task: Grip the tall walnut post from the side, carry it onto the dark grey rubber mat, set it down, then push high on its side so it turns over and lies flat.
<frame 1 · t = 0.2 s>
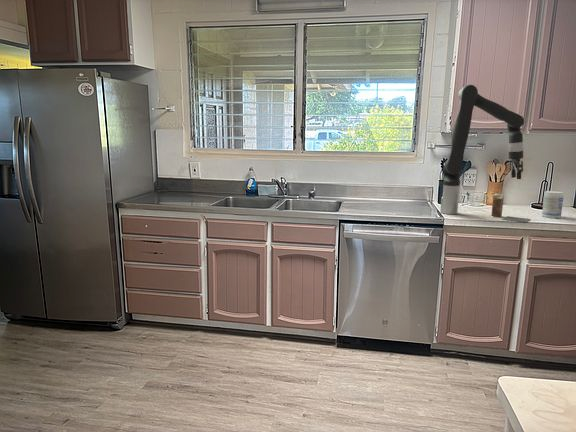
hand: (516, 178, 244), 22 cm above the countertop, tool pointing down, fingers open, 8 cm apart
supplement tub: (551, 217, 244), on the countertop
walnut post: (496, 216, 245), on the countertop
rubber mat: (516, 219, 236), on the countertop
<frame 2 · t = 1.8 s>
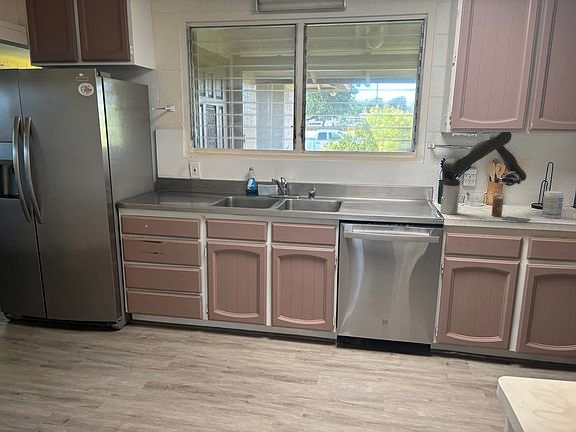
hand: (504, 181, 249), 19 cm above the countertop, tool horizontal, fingers open, 8 cm apart
nothing on the countertop moved.
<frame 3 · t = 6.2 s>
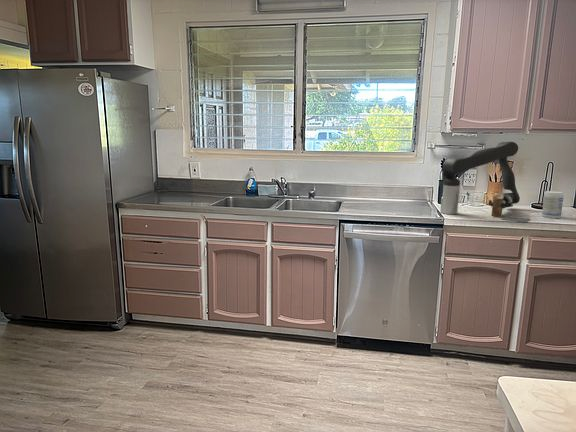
hand: (496, 205, 242), 7 cm above the countertop, tool horizontal, fingers closed on walnut post, 4 cm apart
walnut post: (496, 216, 245), on the countertop, touching gripper
everything else where it was.
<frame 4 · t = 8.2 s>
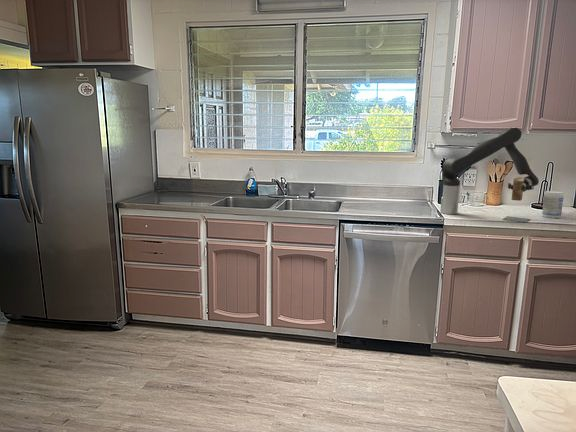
hand: (517, 188, 234), 18 cm above the countertop, tool horizontal, fingers closed on walnut post, 4 cm apart
walnut post: (516, 199, 237), point 11 cm above the countertop, touching gripper
everything else where it was.
when the fingers open (8 cm above the countertop, at t = 10.5 s): walnut post stays where it is, resting on rubber mat.
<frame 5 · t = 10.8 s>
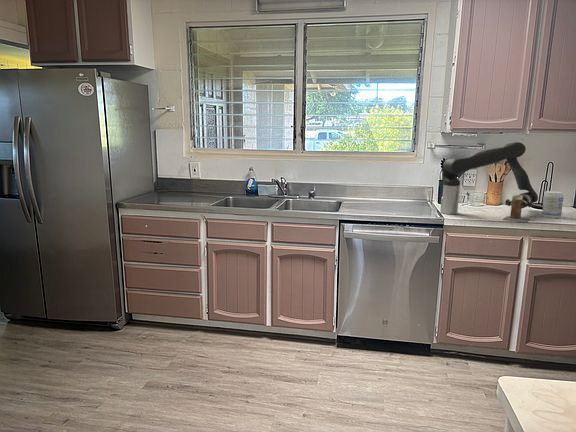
hand: (516, 204, 235), 8 cm above the countertop, tool horizontal, fingers open, 7 cm apart
walnut post: (515, 217, 239), resting on rubber mat
everything else where it was.
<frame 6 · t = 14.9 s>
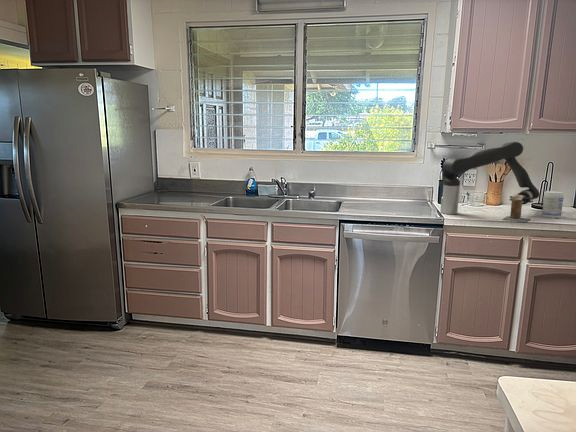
hand: (517, 200, 238), 10 cm above the countertop, tool horizontal, fingers closed
nothing on the countertop moved.
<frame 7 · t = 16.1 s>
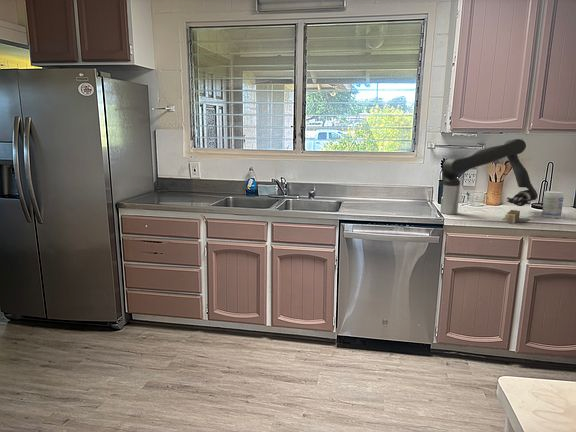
hand: (515, 202, 233), 10 cm above the countertop, tool horizontal, fingers closed
walnut post: (515, 214, 236), point 3 cm above the countertop, tilted 93°, touching rubber mat
everything else where it was.
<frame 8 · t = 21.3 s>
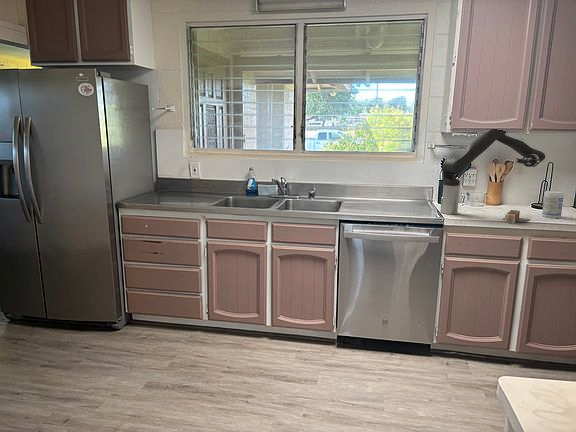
hand: (524, 161, 238), 32 cm above the countertop, tool horizontal, fingers closed
nothing on the countertop moved.
at the end: walnut post tilted 93°; walnut post inside the target area (1.1 cm from its centre), point 3.0 cm above the countertop; the gripper is holding nothing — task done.
